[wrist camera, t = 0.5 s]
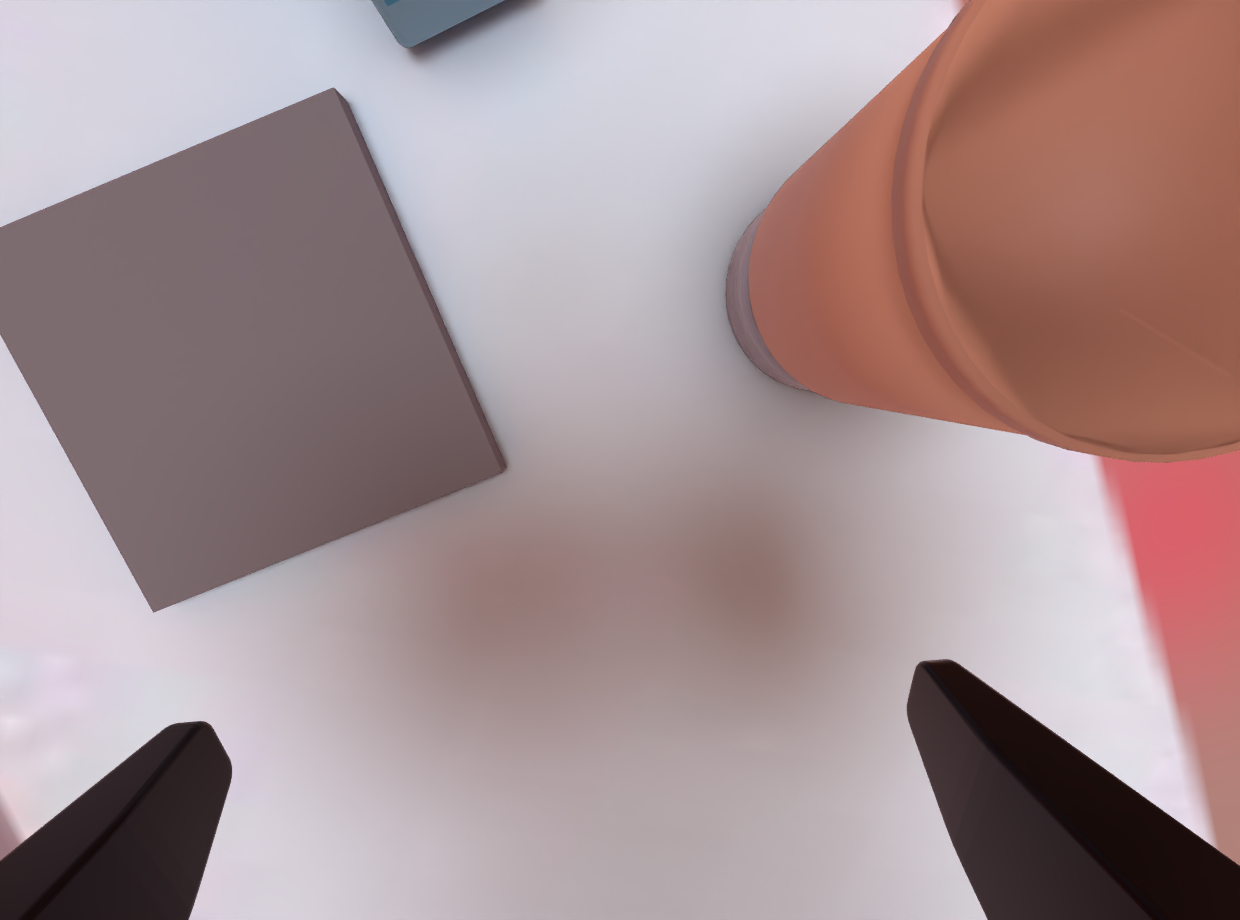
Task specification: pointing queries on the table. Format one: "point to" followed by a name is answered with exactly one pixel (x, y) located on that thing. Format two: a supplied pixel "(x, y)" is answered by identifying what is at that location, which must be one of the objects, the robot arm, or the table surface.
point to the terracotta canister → (1029, 233)
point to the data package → (426, 16)
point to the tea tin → (750, 310)
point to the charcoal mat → (241, 351)
